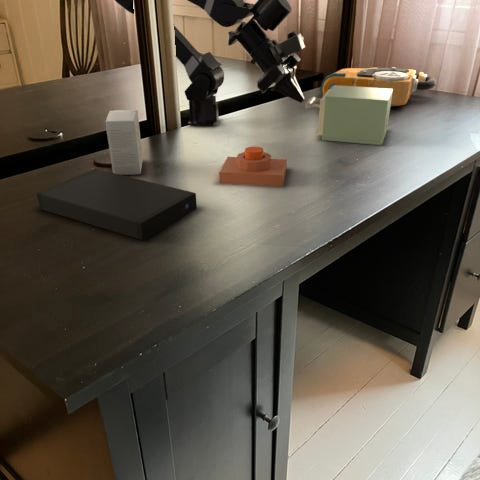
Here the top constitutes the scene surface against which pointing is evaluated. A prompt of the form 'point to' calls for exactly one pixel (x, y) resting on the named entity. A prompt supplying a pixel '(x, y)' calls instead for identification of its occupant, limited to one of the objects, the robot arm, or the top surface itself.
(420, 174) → the top surface
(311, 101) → the drawer
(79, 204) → the external hard drive
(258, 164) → the block
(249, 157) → the button
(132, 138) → the small box
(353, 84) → the device
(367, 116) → the sage green box
